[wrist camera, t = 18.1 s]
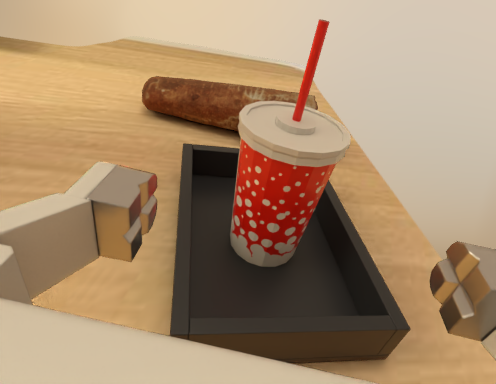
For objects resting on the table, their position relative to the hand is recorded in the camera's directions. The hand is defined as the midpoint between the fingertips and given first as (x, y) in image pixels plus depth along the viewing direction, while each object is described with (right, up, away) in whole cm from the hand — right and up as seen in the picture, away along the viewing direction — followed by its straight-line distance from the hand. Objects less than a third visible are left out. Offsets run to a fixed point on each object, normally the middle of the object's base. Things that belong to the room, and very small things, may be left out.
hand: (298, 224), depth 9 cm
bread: (-4, +8, +28) cm, 30 cm away
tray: (-1, -3, +14) cm, 15 cm away
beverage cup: (0, -3, +14) cm, 14 cm away
